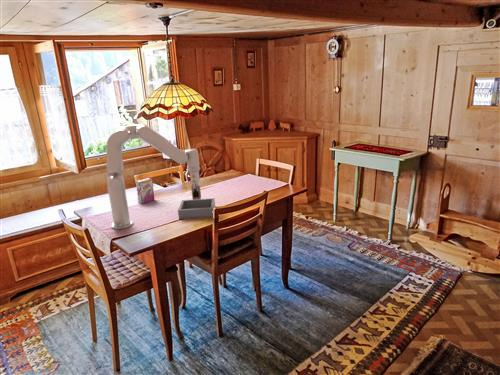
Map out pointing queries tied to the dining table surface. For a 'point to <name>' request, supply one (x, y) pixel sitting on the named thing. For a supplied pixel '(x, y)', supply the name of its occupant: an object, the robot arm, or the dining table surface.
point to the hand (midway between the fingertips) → (196, 195)
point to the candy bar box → (145, 190)
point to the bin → (196, 208)
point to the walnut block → (198, 193)
